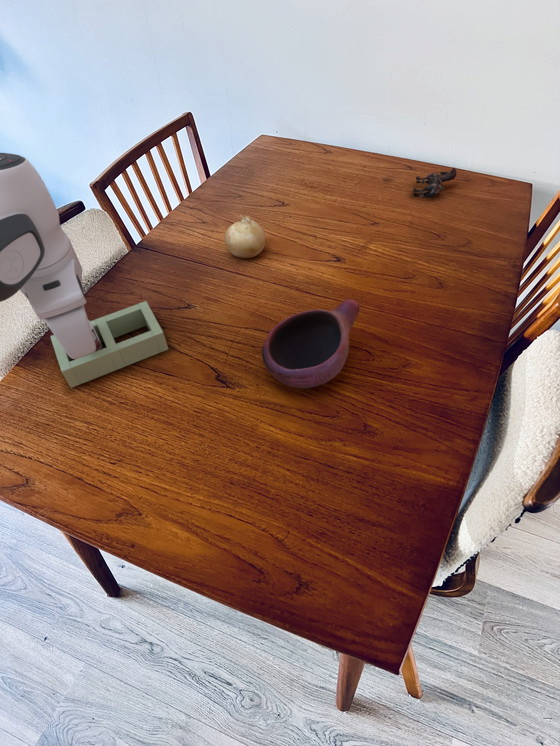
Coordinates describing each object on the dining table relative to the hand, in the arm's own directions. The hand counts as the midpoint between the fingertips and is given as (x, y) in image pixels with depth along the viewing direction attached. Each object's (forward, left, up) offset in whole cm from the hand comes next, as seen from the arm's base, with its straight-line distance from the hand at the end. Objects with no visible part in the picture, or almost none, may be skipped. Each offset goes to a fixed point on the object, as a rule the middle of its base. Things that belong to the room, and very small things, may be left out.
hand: (81, 339), depth 83 cm
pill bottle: (0, 0, -4) cm, 4 cm away
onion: (+35, +13, -5) cm, 38 cm away
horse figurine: (+77, +13, -5) cm, 78 cm away
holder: (+4, 0, -5) cm, 6 cm away
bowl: (+31, -19, -5) cm, 36 cm away
